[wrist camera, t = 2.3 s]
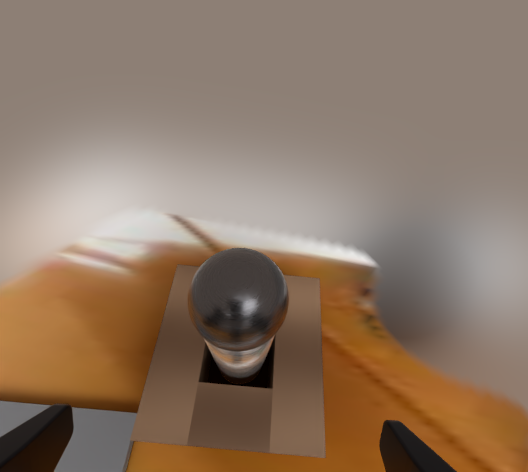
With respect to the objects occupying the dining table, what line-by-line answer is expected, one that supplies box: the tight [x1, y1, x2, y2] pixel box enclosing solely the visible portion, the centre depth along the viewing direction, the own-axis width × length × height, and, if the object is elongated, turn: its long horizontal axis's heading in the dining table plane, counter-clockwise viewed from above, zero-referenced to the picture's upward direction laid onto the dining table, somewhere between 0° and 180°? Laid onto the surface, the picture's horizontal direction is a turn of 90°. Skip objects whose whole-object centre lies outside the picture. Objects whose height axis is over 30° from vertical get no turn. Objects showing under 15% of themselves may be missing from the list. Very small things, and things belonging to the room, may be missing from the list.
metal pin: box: [188, 248, 289, 384], centre depth 13 cm, size 3×3×13 cm
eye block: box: [130, 265, 326, 458], centre depth 17 cm, size 9×9×4 cm
